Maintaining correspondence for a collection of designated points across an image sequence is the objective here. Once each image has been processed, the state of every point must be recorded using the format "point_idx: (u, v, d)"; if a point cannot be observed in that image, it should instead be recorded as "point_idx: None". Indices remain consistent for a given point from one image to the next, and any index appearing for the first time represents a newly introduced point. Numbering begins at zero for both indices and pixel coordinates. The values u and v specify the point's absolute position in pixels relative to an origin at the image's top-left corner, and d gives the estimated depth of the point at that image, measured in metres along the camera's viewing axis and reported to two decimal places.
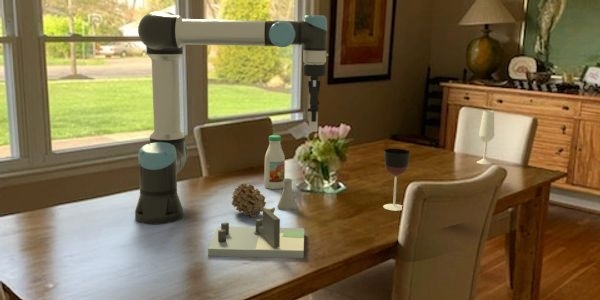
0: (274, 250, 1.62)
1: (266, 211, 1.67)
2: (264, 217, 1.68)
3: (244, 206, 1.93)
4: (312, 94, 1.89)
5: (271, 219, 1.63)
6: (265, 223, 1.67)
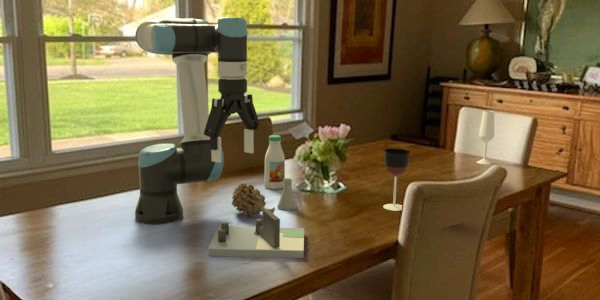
0: (274, 250, 1.62)
1: (266, 211, 1.67)
2: (264, 217, 1.68)
3: (244, 206, 1.93)
4: (211, 115, 1.51)
5: (271, 219, 1.63)
6: (265, 223, 1.67)
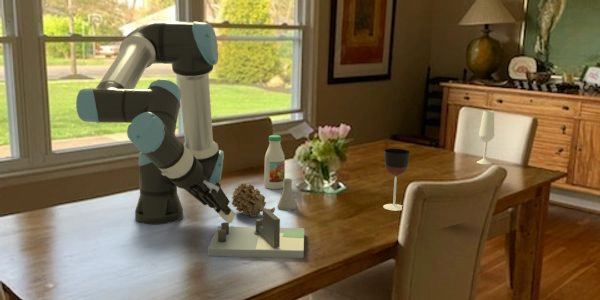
0: (274, 250, 1.62)
1: (266, 211, 1.67)
2: (264, 217, 1.68)
3: (244, 206, 1.93)
4: None
5: (271, 219, 1.63)
6: (265, 223, 1.67)
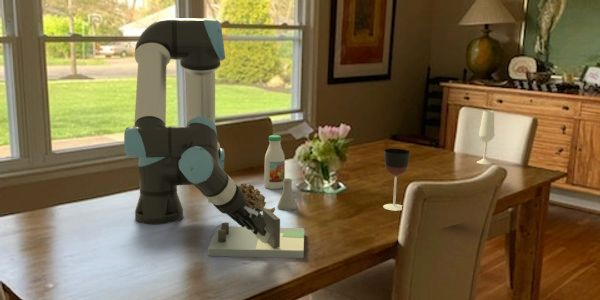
0: (274, 250, 1.62)
1: (266, 211, 1.67)
2: (264, 217, 1.68)
3: None
4: None
5: (271, 219, 1.63)
6: None
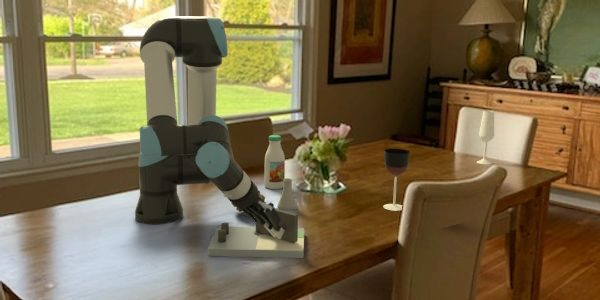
0: (274, 250, 1.62)
1: (275, 209, 1.69)
2: None
3: None
4: None
5: (288, 216, 1.66)
6: None
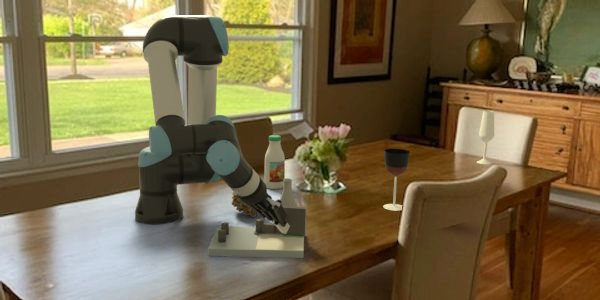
0: (274, 250, 1.62)
1: None
2: None
3: (244, 206, 1.93)
4: None
5: (298, 210, 1.71)
6: None
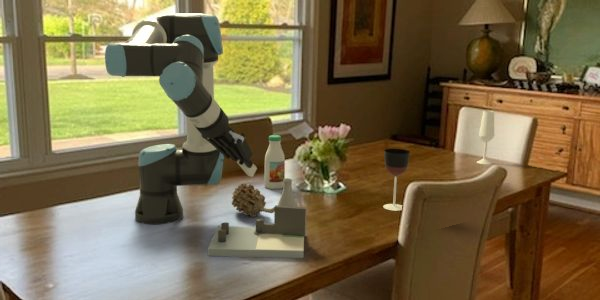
0: (274, 250, 1.62)
1: (280, 206, 1.72)
2: (279, 213, 1.72)
3: (244, 206, 1.93)
4: None
5: (298, 210, 1.71)
6: (282, 218, 1.72)
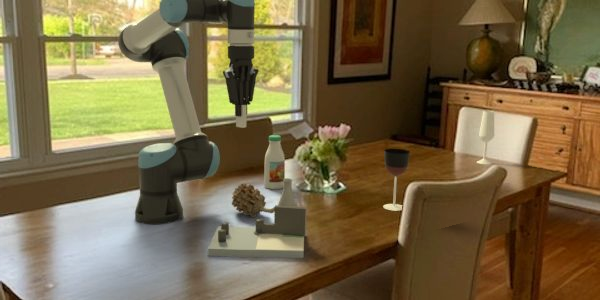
0: (274, 250, 1.62)
1: (280, 206, 1.72)
2: (279, 213, 1.72)
3: (244, 206, 1.93)
4: (228, 86, 1.68)
5: (298, 210, 1.71)
6: (282, 218, 1.72)
